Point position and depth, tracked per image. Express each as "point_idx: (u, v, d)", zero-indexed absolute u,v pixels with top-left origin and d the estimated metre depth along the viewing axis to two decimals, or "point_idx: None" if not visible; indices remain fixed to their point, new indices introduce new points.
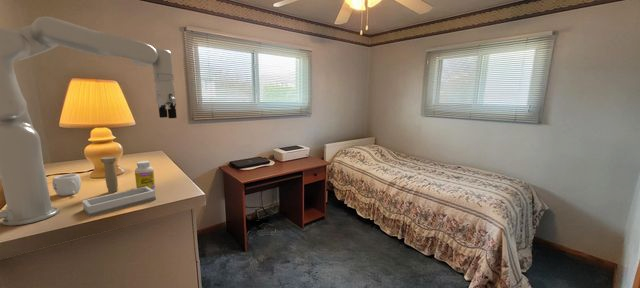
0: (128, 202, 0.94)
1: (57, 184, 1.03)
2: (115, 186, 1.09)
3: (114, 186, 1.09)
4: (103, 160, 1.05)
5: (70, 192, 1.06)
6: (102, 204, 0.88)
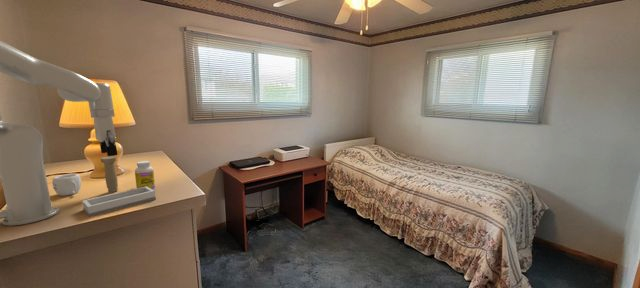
0: (128, 202, 0.94)
1: (57, 184, 1.03)
2: (115, 186, 1.09)
3: (114, 186, 1.09)
4: (103, 160, 1.05)
5: (70, 192, 1.06)
6: (102, 204, 0.88)
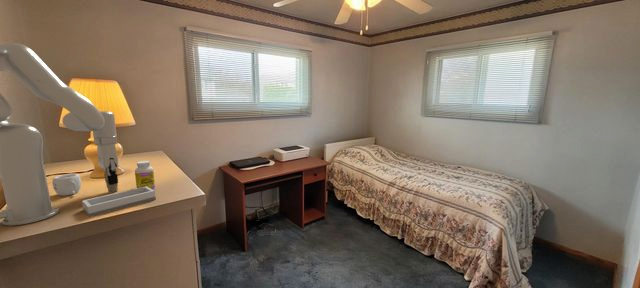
0: (128, 202, 0.94)
1: (57, 184, 1.03)
2: (115, 186, 1.09)
3: (114, 186, 1.09)
4: None
5: (70, 192, 1.06)
6: (102, 204, 0.88)
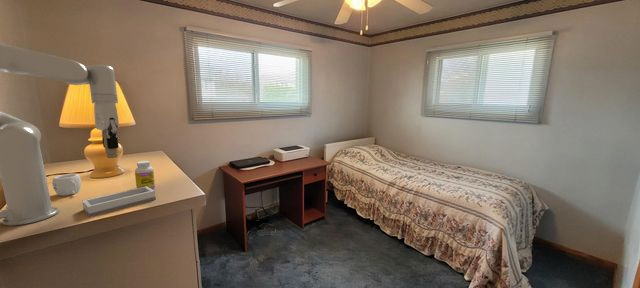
0: (128, 202, 0.94)
1: (57, 184, 1.03)
2: (115, 151, 0.98)
3: (114, 151, 0.97)
4: None
5: (70, 192, 1.06)
6: (102, 204, 0.88)
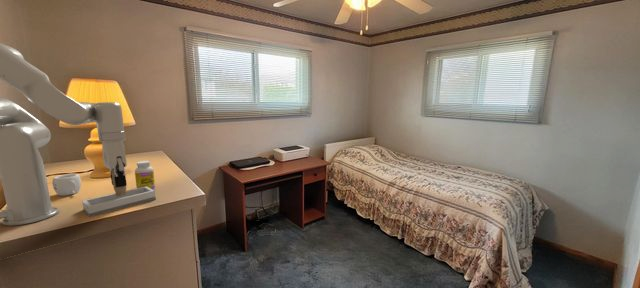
0: (128, 202, 0.94)
1: (57, 184, 1.03)
2: (123, 189, 0.95)
3: (122, 189, 0.95)
4: None
5: (70, 192, 1.06)
6: (102, 204, 0.88)
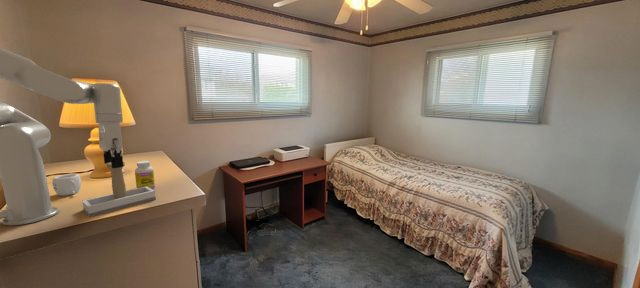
0: (128, 202, 0.94)
1: (57, 184, 1.03)
2: (123, 195, 0.96)
3: (122, 196, 0.95)
4: (109, 166, 0.92)
5: (70, 192, 1.06)
6: (102, 204, 0.88)
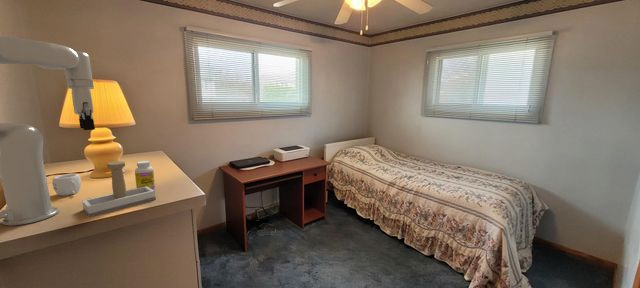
0: (128, 202, 0.94)
1: (57, 184, 1.03)
2: (123, 195, 0.96)
3: (122, 196, 0.95)
4: (110, 166, 0.91)
5: (70, 192, 1.06)
6: (102, 204, 0.88)
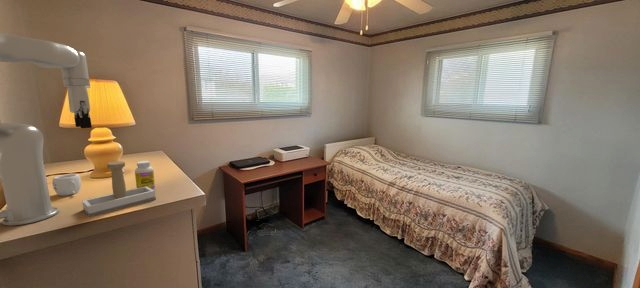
0: (128, 202, 0.94)
1: (57, 184, 1.03)
2: (123, 195, 0.96)
3: (122, 196, 0.95)
4: (110, 166, 0.92)
5: (70, 192, 1.06)
6: (102, 204, 0.88)
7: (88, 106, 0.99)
